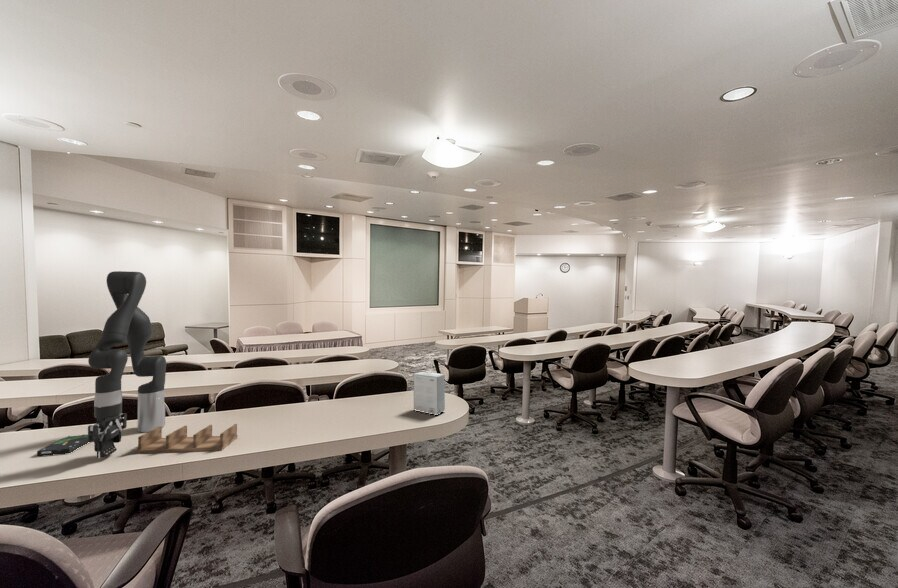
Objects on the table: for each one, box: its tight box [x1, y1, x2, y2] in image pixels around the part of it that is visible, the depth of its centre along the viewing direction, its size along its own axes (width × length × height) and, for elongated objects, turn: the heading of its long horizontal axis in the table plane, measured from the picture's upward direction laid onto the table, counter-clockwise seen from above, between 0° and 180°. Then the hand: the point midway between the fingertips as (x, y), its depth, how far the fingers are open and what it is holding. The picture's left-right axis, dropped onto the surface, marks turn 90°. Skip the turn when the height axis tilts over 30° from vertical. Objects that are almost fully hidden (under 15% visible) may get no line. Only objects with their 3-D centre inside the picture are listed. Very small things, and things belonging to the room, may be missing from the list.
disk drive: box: [36, 434, 94, 457], centre depth 140 cm, size 10×3×15 cm
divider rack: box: [136, 423, 238, 454], centre depth 142 cm, size 12×31×6 cm, turn 95°
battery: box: [96, 424, 119, 459], centre depth 131 cm, size 7×4×11 cm, turn 16°
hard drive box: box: [413, 371, 446, 415], centre depth 184 cm, size 16×8×20 cm, turn 58°
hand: (108, 446), depth 131 cm, fingers closed on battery, 7 cm apart
